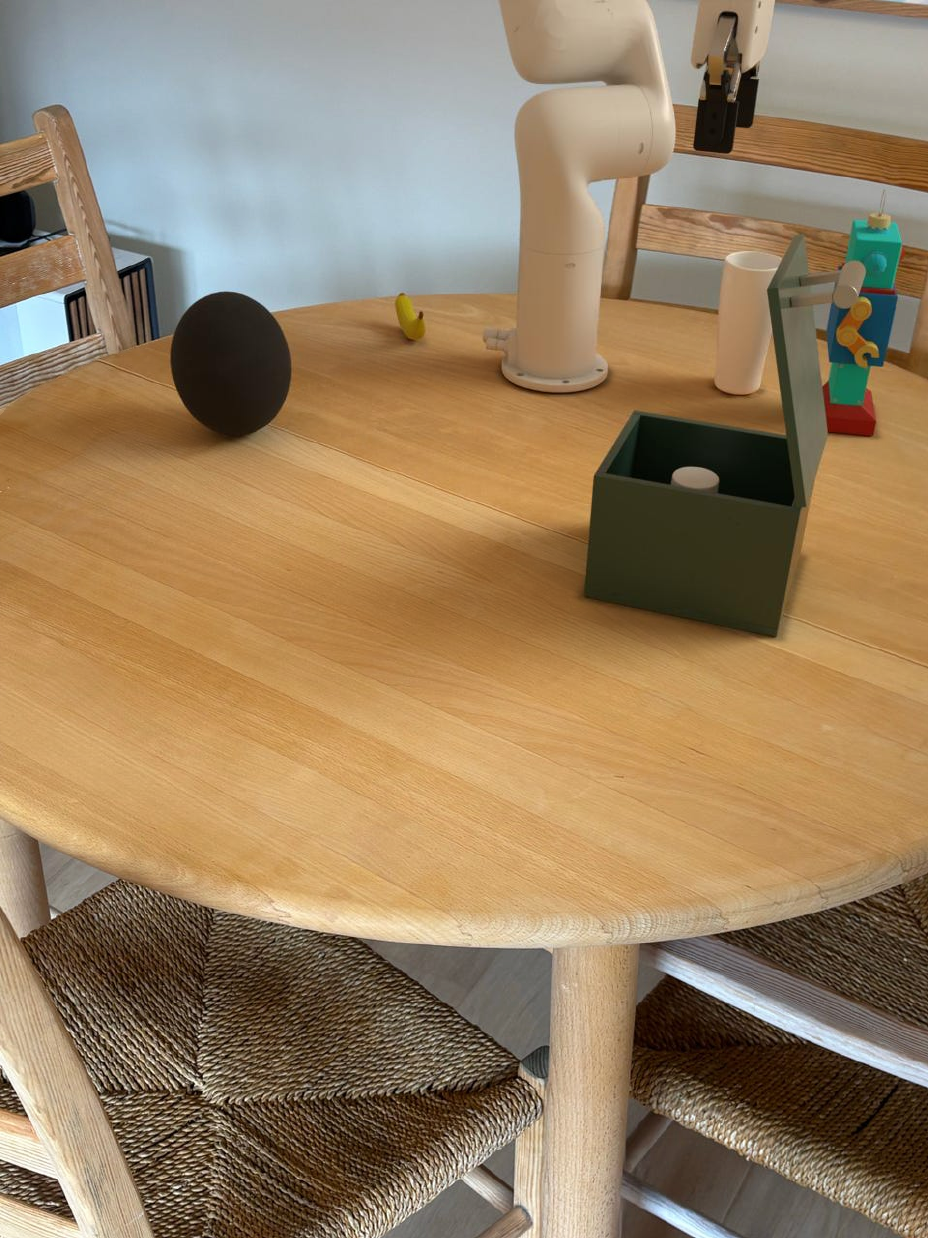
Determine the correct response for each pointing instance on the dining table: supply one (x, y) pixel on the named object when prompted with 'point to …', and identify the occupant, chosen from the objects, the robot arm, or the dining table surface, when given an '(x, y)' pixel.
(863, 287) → the toy robot
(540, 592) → the dining table surface
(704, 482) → the pill bottle
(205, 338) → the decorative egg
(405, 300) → the fruit
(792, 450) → the lid
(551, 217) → the robot arm
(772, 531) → the box
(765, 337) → the drinking glass
